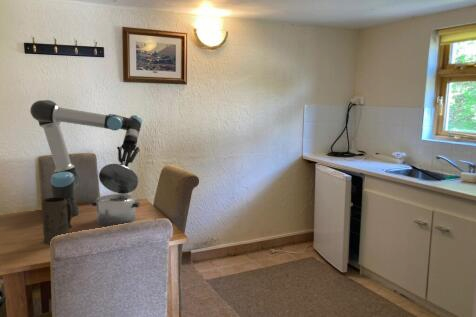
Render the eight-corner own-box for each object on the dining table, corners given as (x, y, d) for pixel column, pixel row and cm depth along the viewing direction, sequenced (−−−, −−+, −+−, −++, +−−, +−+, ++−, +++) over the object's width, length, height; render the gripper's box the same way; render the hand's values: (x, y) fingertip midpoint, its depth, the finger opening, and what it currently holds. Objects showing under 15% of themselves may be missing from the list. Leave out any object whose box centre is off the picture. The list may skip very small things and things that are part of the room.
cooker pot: (85, 225, 201) (84, 202, 199) (102, 213, 222) (102, 192, 220) (133, 226, 200) (132, 204, 198) (145, 214, 221) (145, 194, 219)
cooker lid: (94, 165, 205) (96, 160, 208) (104, 192, 219) (106, 188, 221) (133, 166, 204) (135, 161, 206) (140, 194, 217) (142, 189, 220)
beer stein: (58, 245, 173) (58, 201, 171) (37, 243, 175) (36, 200, 173) (79, 236, 188) (78, 195, 186) (59, 234, 190) (59, 194, 188)
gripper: (143, 142, 229) (135, 176, 216) (121, 142, 230) (112, 175, 216) (140, 134, 223) (132, 169, 210) (118, 134, 224) (108, 168, 210)
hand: (122, 172), depth 213 cm, fingers closed
